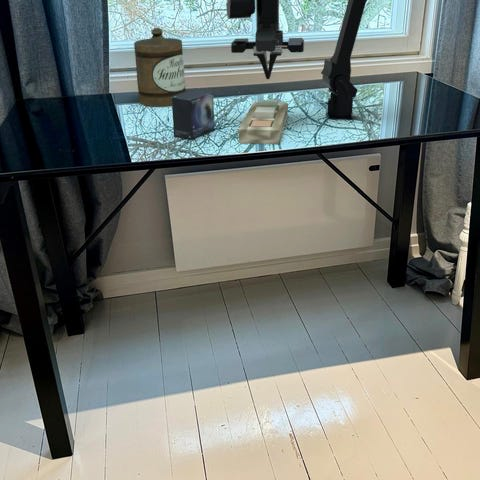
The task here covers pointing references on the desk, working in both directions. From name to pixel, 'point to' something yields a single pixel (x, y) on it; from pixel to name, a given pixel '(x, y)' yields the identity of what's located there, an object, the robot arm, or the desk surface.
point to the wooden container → (159, 69)
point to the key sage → (269, 104)
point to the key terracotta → (261, 123)
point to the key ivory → (264, 112)
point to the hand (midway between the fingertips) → (268, 78)
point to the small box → (193, 113)
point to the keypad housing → (263, 133)
